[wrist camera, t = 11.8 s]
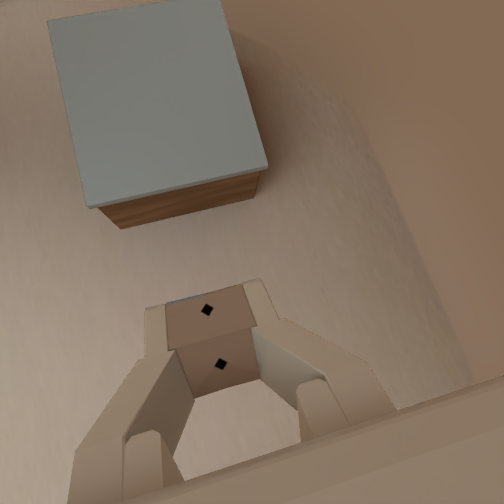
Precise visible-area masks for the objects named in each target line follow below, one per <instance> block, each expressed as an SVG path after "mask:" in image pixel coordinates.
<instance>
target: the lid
mask: <svg viewBox="0 0 504 504" xmlns="http://www.w3.org/2000/svg"><path fill="white" fill-rule="evenodd" d="M47 25H48V29H49V34H50V39H51V43H52V48H53V53H54V57H55V62H56V67H57V71H58V76H59V80H60V85H61V90H62V94H63V99H64V104H65V108H66V113H67V118H68V122H69V127H70V132H71V136H72V141H73V145H74V150H75V155H76V159H77V164H78V169H79V173H80V178H81V183H82V187H83V192H84V196H85V201H86V206H87V207H88V208H89V209H93V208H98V207H102V206H107V205H111V204H115V203H120V202H124V201H129V200H133V199H137V198H142V197H146V196H151V195H155V194H159V193H164V192H168V191H173V190H177V189H182V188H186V187H190V186H195V185H199V184H204V183H208V182H212V181H217V180H221V179H226V178H230V177H234V176H239V175H243V174H248V173H252V172H257V171H261V170H265V169H267V168H268V162H267V159H266V155H265V152H264V148H263V145H262V141H261V138H260V135H259V131H258V128H257V124H256V121H255V117H254V114H253V111H252V107H251V104H250V100H249V97H248V93H247V90H246V87H245V83H244V80H243V76H242V73H241V70H240V66H239V63H238V59H237V56H236V52H235V49H234V46H233V42H232V39H231V35H230V32H229V28H228V25H227V22H226V18H225V15H224V11H223V8H222V5H221V1H220V0H173V1H167V2H160V3H154V4H148V5H141V6H135V7H129V8H122V9H116V10H110V11H104V12H97V13H91V14H85V15H78V16H72V17H66V18H59V19H53V20H47Z"/></svg>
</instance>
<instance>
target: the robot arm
mask: <svg viewBox="0 0 504 504" xmlns="http://www.w3.org/2000/svg"><path fill="white" fill-rule="evenodd" d="M257 379H261V381H263V382H264V383H265V384H266V385H267V386H269V387H270V388H271V389H272V390H273V391H274V392H276V393H277V394H278V395H279V396H280V397H281V398H283V399H284V400H285V401H286V402H287V403H288V404H290V405H291V406H292V407H293V408H294V409H296V410H297V411H298V416H299V426H300V435H301V443H299V444H296V445H293V446H290V447H287V448H284V449H280V450H277V451H274V452H271V453H268V454H265V455H262V456H259V457H256V458H253V459H250V460H247V461H244V462H241V463H238V464H235V465H232V466H229V467H226V468H223V469H220V470H217V471H214V472H211V473H208V474H205V475H202V476H199V477H196V478H193V479H190V480H187V481H184V479H183V477H182V475H181V473H180V471H179V469H178V467H177V465H176V463H175V461H174V459H173V455H174V452H175V450H176V447H177V445H178V442H179V439H180V437H181V434H182V432H183V429H184V427H185V424H186V422H187V419H188V417H189V414H190V412H191V409H192V407H193V404H194V402H195V400H194V399H195V398H198V397H201V396H204V395H207V394H210V393H213V392H216V391H219V390H222V389H225V388H228V387H232V386H235V385H239V384H243V383H246V382H250V381H254V380H257ZM67 504H504V376H501V377H498V378H495V379H492V380H489V381H486V382H483V383H479V384H476V385H473V386H470V387H467V388H464V389H461V390H458V391H455V392H452V393H449V394H446V395H443V396H440V397H437V398H434V399H431V400H428V401H425V402H422V403H419V404H416V405H413V406H410V407H407V408H404V409H401V410H398V411H397V410H396V408H395V407H394V405H393V403H392V402H391V400H390V399H389V397H388V396H387V394H386V392H385V391H384V389H383V388H382V386H381V385H380V383H379V381H378V380H377V378H376V377H375V375H374V374H373V372H372V370H371V369H370V367H369V366H368V364H367V363H366V362H365V361H363V360H361V359H359V358H357V357H356V356H354V355H352V354H350V353H348V352H346V351H345V350H343V349H341V348H339V347H337V346H335V345H334V344H332V343H330V342H328V341H326V340H324V339H322V338H321V337H319V336H317V335H315V334H313V333H311V332H310V331H308V330H306V329H304V328H302V327H300V326H299V325H297V324H295V323H293V322H291V321H289V320H288V319H286V318H284V319H280V320H279V317H278V315H277V313H276V311H275V308H274V306H273V304H272V302H271V300H270V297H269V295H268V293H267V291H266V288H265V286H264V284H263V282H262V280H261V279H260V278H257V279H254V280H250V281H247V282H243V283H241V284H238V285H234V286H231V287H227V288H223V289H220V290H216V291H212V292H209V293H205V294H201V295H197V296H192V297H188V298H184V299H180V300H176V301H172V302H168V303H166V304H161V305H157V306H153V307H149V308H146V309H145V311H144V358H143V359H140V360H138V361H137V363H136V364H135V366H134V367H133V368H132V370H131V371H130V373H129V374H128V376H127V377H126V379H125V380H124V381H123V383H122V384H121V386H120V387H119V389H118V390H117V392H116V393H115V395H114V396H113V397H112V399H111V400H110V402H109V403H108V405H107V406H106V408H105V409H104V410H103V412H102V413H101V415H100V416H99V418H98V419H97V421H96V422H95V423H94V425H93V426H92V428H91V429H90V431H89V432H88V434H87V435H86V437H85V438H84V439H83V441H82V442H81V444H80V445H79V447H78V448H77V450H76V451H75V455H74V462H73V469H72V475H71V482H70V489H69V495H68V502H67Z"/></svg>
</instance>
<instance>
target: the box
mask: <svg viewBox="0 0 504 504" xmlns="http://www.w3.org/2000/svg"><path fill="white" fill-rule="evenodd" d="M259 175H260V171H257V172H252V173H248V174H243V175H239V176H234V177H230V178H226V179H221V180H217V181H212V182H208V183H204V184H199V185H195V186H190V187H186V188H182V189H177V190H173V191H168V192H164V193H159V194H155V195H151V196H146V197H142V198H137V199H133V200H129V201H124V202H120V203H115V204H111V205H107V206H102V207H98V209H100V210H101V211H102V212H103V213H104V214H105V215H106V216H107V217H108V218H109V219H110V220H111V221H112V222H113V223H114V224H115V225H116V226H118V227H119V228H120V229H124V228H129V227H133V226H137V225H141V224H146V223H150V222H154V221H158V220H163V219H167V218H171V217H175V216H179V215H184V214H188V213H192V212H196V211H201V210H205V209H209V208H213V207H218V206H222V205H226V204H230V203H235V202H239V201H243V200H247V199H251V198H253V197H254V194H255V190H256V186H257V182H258V179H259Z"/></svg>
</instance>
